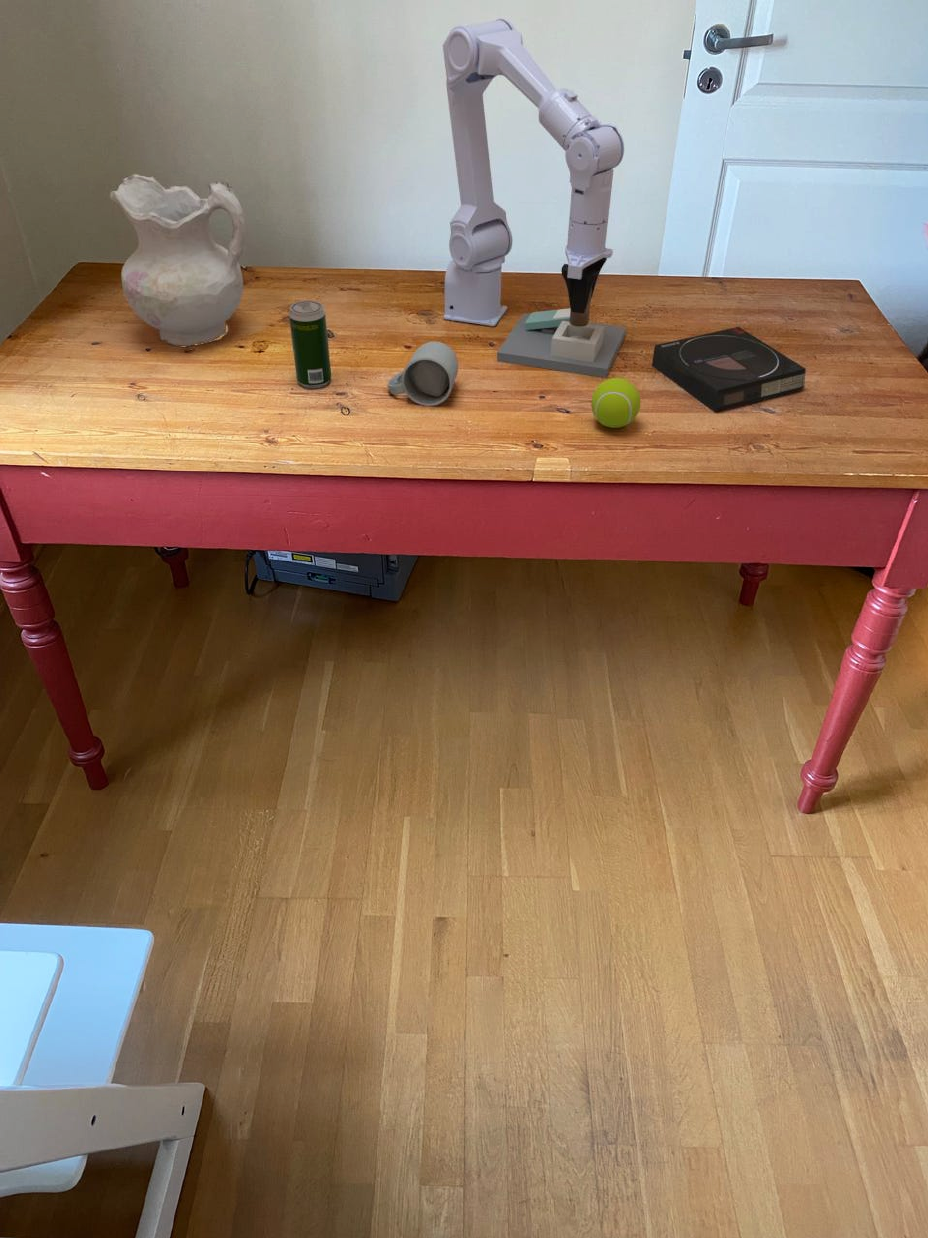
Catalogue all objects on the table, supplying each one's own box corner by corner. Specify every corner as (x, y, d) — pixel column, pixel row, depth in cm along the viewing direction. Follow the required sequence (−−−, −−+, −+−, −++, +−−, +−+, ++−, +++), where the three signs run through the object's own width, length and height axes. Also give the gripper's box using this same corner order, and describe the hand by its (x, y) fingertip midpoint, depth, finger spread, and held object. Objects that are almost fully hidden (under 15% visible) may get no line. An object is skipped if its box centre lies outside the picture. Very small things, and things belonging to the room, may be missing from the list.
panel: (496, 360, 152) (497, 334, 149) (523, 321, 163) (524, 296, 160) (605, 377, 148) (609, 350, 145) (625, 335, 159) (628, 310, 156)
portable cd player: (715, 416, 140) (720, 391, 137) (651, 368, 151) (654, 345, 149) (802, 394, 145) (808, 370, 142) (733, 349, 157) (738, 326, 154)
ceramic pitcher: (272, 315, 167) (252, 163, 152) (255, 356, 152) (232, 191, 137) (150, 317, 167) (118, 164, 152) (121, 358, 151) (83, 193, 136)
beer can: (336, 385, 145) (329, 310, 138) (303, 392, 144) (294, 317, 136) (325, 370, 149) (317, 297, 141) (292, 377, 147) (283, 303, 139)
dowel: (567, 325, 148) (571, 281, 143) (571, 317, 150) (575, 274, 145) (586, 327, 147) (591, 283, 143) (589, 319, 150) (594, 276, 145)
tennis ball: (633, 439, 134) (640, 395, 129) (585, 432, 135) (589, 388, 130) (640, 416, 139) (646, 372, 134) (593, 409, 140) (598, 366, 136)
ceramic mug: (460, 382, 146) (459, 336, 141) (452, 408, 140) (451, 360, 135) (394, 378, 148) (391, 332, 143) (383, 404, 142) (379, 356, 136)
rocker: (526, 329, 157) (524, 322, 156) (533, 319, 160) (531, 311, 159) (572, 325, 154) (570, 317, 153) (578, 314, 157) (577, 306, 156)
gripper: (605, 237, 132) (595, 329, 141) (625, 205, 142) (614, 292, 151) (556, 232, 134) (550, 323, 143) (579, 200, 144) (572, 287, 153)
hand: (580, 307), depth 147 cm, fingers closed on dowel, 3 cm apart
